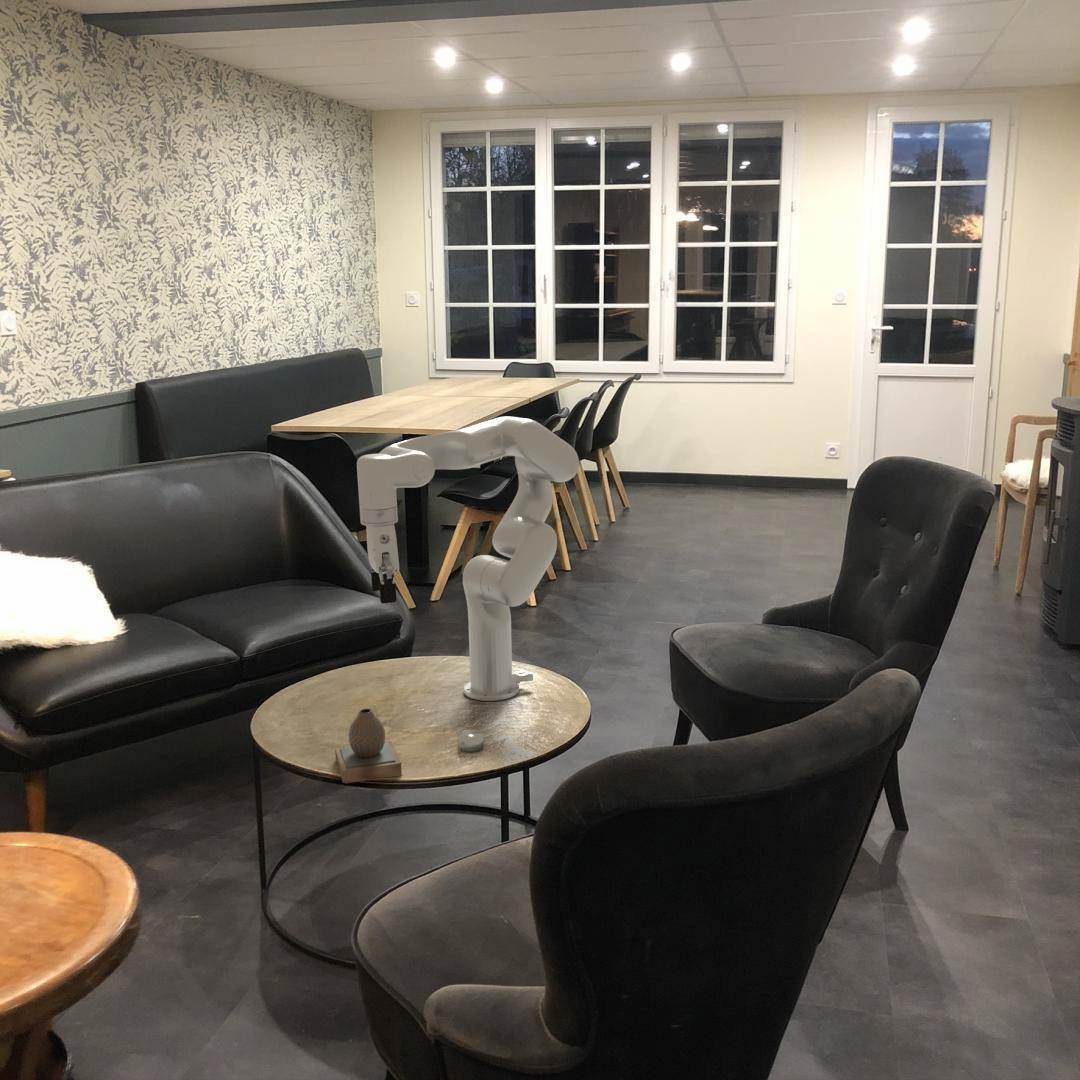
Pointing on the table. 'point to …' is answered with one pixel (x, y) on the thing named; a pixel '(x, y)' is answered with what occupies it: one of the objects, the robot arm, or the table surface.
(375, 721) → the vase
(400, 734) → the table surface
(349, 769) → the plinth
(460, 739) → the tin
